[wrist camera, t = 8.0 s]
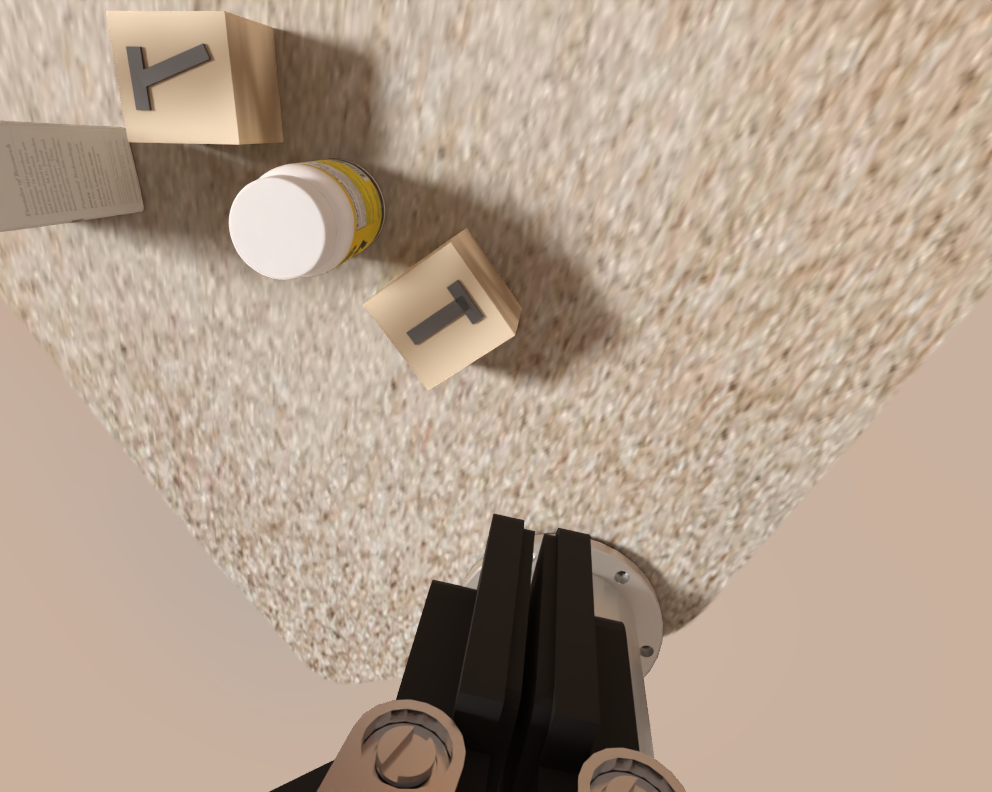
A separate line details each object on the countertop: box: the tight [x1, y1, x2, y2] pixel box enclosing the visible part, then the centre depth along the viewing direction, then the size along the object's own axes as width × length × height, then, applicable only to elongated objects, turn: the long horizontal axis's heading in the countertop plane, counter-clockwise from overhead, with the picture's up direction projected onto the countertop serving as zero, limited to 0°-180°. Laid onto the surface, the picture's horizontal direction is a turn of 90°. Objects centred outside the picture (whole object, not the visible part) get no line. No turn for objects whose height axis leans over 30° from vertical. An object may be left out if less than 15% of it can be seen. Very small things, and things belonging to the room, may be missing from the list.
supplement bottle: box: [229, 159, 385, 280], centre depth 31 cm, size 5×5×8 cm
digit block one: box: [363, 227, 522, 390], centre depth 33 cm, size 5×5×5 cm
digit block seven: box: [106, 11, 284, 145], centre depth 31 cm, size 5×5×5 cm
